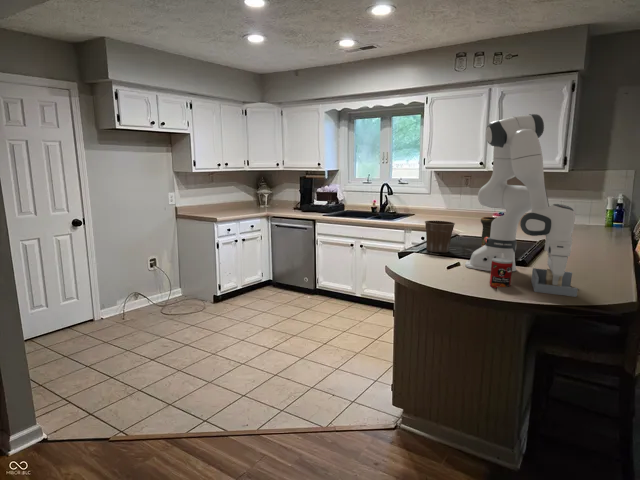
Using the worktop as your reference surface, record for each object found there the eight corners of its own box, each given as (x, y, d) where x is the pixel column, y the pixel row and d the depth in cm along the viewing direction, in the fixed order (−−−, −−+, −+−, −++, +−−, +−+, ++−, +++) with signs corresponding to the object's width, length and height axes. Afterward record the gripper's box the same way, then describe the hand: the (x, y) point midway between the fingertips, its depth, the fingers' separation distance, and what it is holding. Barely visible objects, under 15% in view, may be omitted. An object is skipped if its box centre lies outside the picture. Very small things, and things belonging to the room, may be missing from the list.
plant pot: (429, 246, 249) (431, 219, 246) (456, 250, 240) (459, 222, 237) (418, 251, 236) (420, 222, 233) (446, 255, 227) (449, 225, 224)
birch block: (546, 289, 165) (548, 271, 163) (544, 285, 169) (546, 268, 168) (560, 291, 163) (563, 273, 161) (559, 287, 167) (561, 270, 166)
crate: (533, 294, 161) (535, 277, 160) (531, 283, 176) (532, 268, 175) (576, 299, 156) (578, 282, 155) (569, 287, 171) (571, 272, 170)
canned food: (489, 288, 168) (492, 260, 166) (489, 282, 175) (491, 256, 173) (510, 290, 165) (513, 262, 163) (509, 285, 173) (512, 258, 171)
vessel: (500, 258, 222) (503, 220, 218) (474, 254, 231) (476, 217, 228) (510, 254, 232) (513, 218, 229) (484, 251, 242) (487, 216, 238)
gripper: (545, 241, 174) (541, 274, 176) (551, 251, 155) (546, 287, 157) (563, 243, 171) (559, 276, 174) (571, 252, 153) (566, 290, 155)
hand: (553, 282), depth 165 cm, fingers open, 7 cm apart
